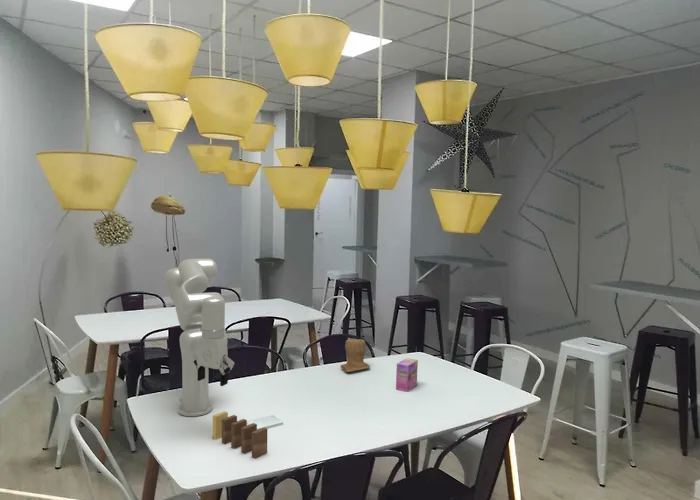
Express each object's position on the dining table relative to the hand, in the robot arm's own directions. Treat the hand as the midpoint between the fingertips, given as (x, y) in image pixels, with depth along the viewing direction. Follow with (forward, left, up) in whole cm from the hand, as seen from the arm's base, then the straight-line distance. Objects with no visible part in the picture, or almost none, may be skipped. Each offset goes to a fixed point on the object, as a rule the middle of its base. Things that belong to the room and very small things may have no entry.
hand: (212, 382), depth 175 cm
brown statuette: (-9, +90, -18) cm, 92 cm away
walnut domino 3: (+20, 0, -18) cm, 27 cm away
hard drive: (+8, +16, -19) cm, 26 cm away
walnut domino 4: (+25, 0, -18) cm, 30 cm away
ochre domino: (+5, 0, -18) cm, 18 cm away
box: (+25, +85, -18) cm, 90 cm away
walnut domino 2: (+15, 0, -18) cm, 23 cm away
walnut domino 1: (+10, 0, -18) cm, 20 cm away
